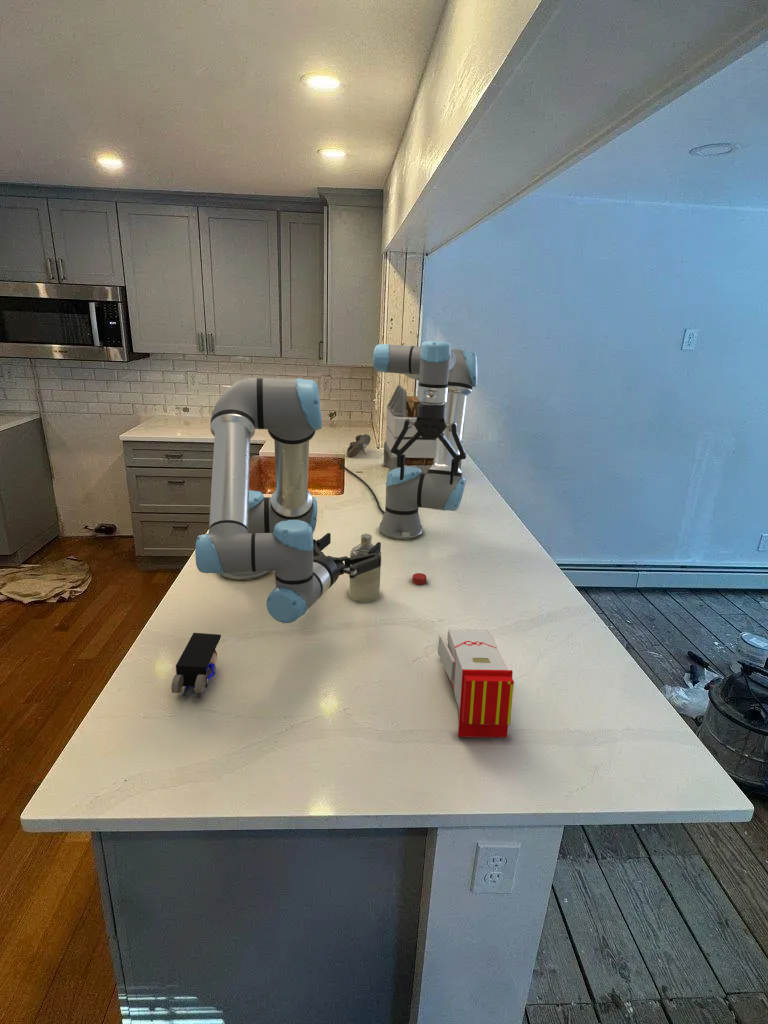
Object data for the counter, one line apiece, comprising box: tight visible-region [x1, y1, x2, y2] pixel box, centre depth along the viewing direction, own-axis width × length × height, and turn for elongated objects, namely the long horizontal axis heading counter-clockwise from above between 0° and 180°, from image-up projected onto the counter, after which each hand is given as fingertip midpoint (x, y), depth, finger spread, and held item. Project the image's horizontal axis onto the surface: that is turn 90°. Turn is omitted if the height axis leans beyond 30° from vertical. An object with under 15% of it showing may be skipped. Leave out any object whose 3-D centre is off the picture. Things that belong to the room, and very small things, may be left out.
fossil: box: [346, 433, 372, 458], centre depth 305 cm, size 22×10×15 cm
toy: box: [437, 628, 515, 738], centre depth 117 cm, size 12×13×30 cm
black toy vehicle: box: [170, 632, 222, 699], centre depth 117 cm, size 7×8×15 cm
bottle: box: [348, 533, 382, 603], centre depth 153 cm, size 8×8×18 cm
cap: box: [411, 572, 427, 586], centre depth 165 cm, size 4×4×2 cm
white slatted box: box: [383, 384, 465, 472], centre depth 268 cm, size 34×33×41 cm
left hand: (353, 542), depth 142 cm, fingers open, 13 cm apart
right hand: (426, 481), depth 155 cm, fingers open, 13 cm apart
